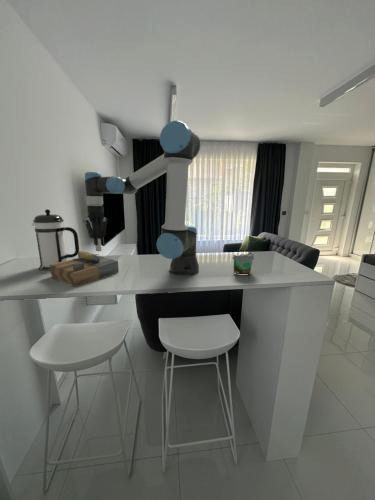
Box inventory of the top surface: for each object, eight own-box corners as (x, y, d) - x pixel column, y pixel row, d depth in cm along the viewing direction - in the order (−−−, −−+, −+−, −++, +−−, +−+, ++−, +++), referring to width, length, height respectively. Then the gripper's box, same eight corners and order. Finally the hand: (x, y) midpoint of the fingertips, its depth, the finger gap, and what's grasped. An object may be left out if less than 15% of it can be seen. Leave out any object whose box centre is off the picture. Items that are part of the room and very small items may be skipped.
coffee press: (45, 274, 101) (36, 210, 94) (33, 267, 110) (24, 209, 103) (81, 265, 114) (75, 209, 107) (68, 260, 124) (61, 208, 117)
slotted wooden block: (118, 272, 105) (117, 255, 103) (75, 286, 87) (72, 267, 85) (94, 265, 116) (93, 249, 114) (51, 276, 98) (49, 258, 96)
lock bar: (101, 261, 101) (100, 255, 100) (94, 263, 98) (94, 256, 97) (83, 256, 109) (83, 250, 108) (77, 258, 106) (76, 251, 105)
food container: (240, 278, 101) (242, 258, 98) (231, 274, 106) (232, 255, 103) (257, 273, 107) (259, 254, 105) (248, 270, 112) (249, 252, 110)
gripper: (102, 204, 113) (105, 247, 119) (78, 204, 102) (82, 252, 108) (111, 205, 109) (113, 249, 115) (87, 205, 98) (91, 254, 104)
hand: (98, 250), depth 111 cm, fingers closed
